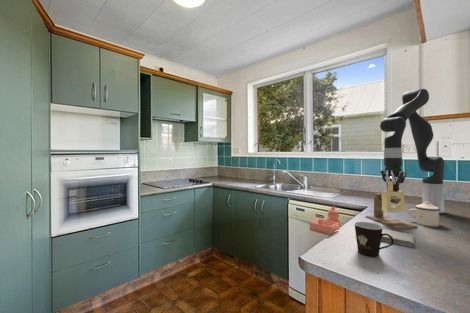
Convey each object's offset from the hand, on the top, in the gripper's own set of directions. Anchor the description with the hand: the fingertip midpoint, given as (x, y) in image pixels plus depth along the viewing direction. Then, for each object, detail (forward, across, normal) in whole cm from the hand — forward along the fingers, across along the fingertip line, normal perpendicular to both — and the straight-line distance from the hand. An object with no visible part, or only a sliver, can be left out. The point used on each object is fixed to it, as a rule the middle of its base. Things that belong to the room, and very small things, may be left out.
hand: (392, 190), depth 111 cm
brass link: (+10, 0, 0) cm, 10 cm away
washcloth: (+18, -16, +18) cm, 30 cm away
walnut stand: (+17, +1, 0) cm, 17 cm away
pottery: (+17, -1, +36) cm, 40 cm away
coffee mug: (+17, -29, +37) cm, 50 cm away
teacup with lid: (+17, -2, -16) cm, 23 cm away
